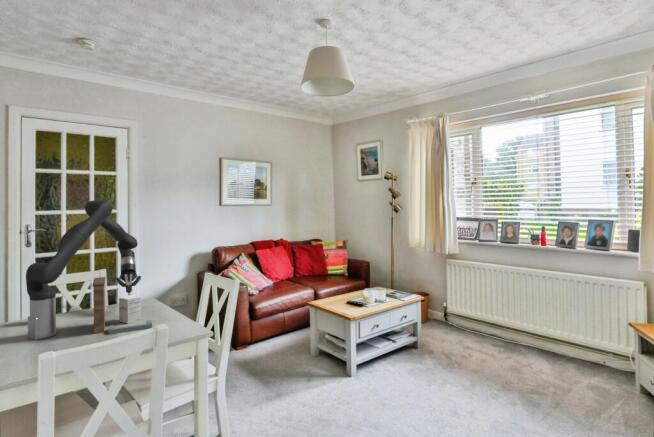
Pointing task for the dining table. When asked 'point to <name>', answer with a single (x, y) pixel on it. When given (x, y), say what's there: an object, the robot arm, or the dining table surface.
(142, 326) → the slate bay
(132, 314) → the supplement box
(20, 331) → the dining table surface
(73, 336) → the dining table surface
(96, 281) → the walnut partition
